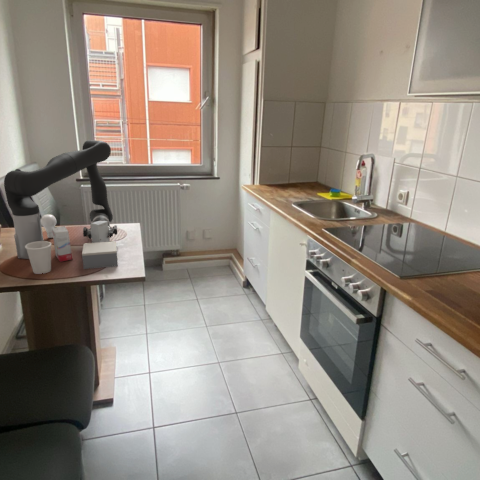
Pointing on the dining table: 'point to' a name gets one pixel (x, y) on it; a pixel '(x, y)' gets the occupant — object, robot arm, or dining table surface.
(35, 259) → the dixie cup
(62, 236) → the ink box
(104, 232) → the skincare box
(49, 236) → the lightbulb
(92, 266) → the plinth
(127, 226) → the dining table surface
